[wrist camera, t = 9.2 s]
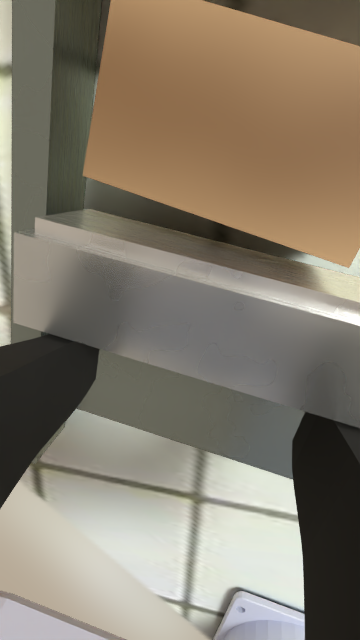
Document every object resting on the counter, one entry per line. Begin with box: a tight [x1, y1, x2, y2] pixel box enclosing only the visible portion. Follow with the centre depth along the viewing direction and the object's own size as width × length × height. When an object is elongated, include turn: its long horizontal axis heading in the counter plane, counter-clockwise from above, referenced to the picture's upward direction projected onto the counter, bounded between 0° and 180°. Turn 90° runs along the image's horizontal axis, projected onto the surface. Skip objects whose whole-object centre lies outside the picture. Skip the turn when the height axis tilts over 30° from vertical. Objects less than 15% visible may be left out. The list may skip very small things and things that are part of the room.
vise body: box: [11, 0, 305, 479], centre depth 10 cm, size 21×13×5 cm, turn 168°
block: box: [83, 0, 360, 268], centre depth 9 cm, size 4×7×4 cm, turn 73°
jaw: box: [13, 209, 360, 428], centre depth 10 cm, size 3×11×4 cm, turn 78°
